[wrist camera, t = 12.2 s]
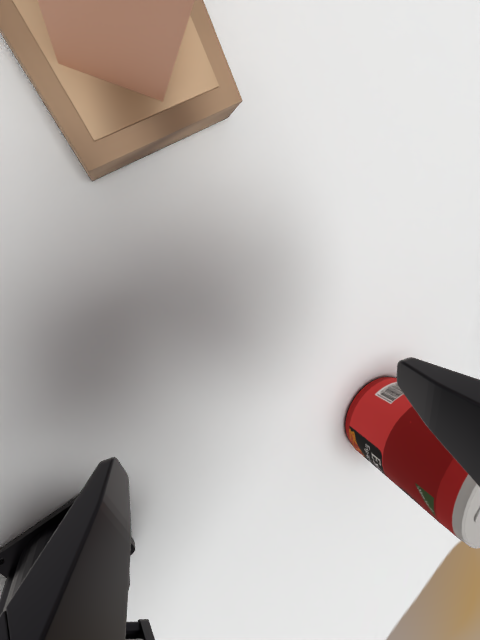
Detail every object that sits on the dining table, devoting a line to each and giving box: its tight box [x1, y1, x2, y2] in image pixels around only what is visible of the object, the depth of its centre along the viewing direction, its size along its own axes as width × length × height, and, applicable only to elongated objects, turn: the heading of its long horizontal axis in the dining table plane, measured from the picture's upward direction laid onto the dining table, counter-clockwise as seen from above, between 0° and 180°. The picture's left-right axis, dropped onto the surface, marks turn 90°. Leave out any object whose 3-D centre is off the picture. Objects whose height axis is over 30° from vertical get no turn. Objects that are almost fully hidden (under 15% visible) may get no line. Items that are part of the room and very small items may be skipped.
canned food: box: [345, 377, 480, 548], centre depth 25 cm, size 8×8×11 cm
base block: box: [0, 0, 242, 181], centre depth 15 cm, size 9×9×3 cm
